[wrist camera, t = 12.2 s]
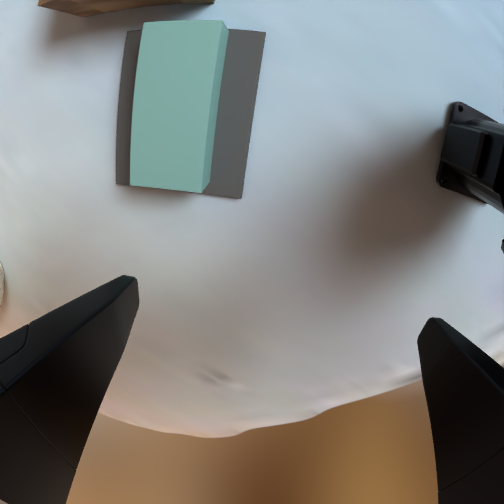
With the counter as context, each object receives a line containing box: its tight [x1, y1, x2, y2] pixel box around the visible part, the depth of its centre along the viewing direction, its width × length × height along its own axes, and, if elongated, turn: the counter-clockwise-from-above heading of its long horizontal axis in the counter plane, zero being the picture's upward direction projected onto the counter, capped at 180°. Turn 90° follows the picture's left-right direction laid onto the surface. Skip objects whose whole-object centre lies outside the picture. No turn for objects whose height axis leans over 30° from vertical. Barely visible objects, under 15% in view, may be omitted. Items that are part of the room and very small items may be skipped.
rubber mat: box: [116, 29, 266, 199], centre depth 17 cm, size 9×11×1 cm
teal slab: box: [130, 20, 229, 193], centre depth 15 cm, size 4×10×2 cm, turn 172°
